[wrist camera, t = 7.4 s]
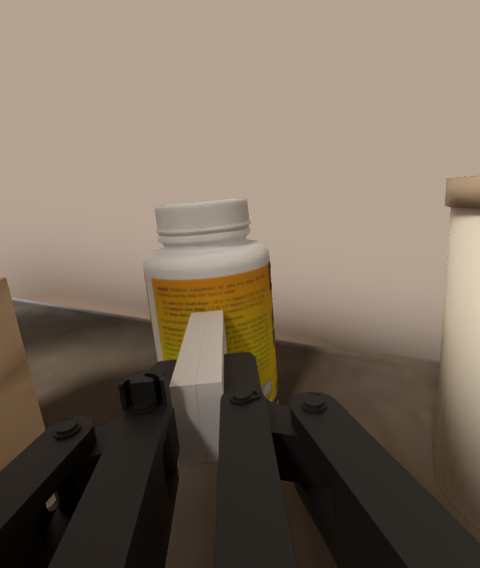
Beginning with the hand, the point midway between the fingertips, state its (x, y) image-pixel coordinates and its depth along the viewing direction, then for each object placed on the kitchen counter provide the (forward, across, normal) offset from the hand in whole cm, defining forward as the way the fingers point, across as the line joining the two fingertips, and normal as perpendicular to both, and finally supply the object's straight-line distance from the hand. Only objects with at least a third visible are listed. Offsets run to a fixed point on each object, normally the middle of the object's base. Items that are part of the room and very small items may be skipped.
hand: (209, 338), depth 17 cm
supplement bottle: (+4, 0, -7) cm, 8 cm away
